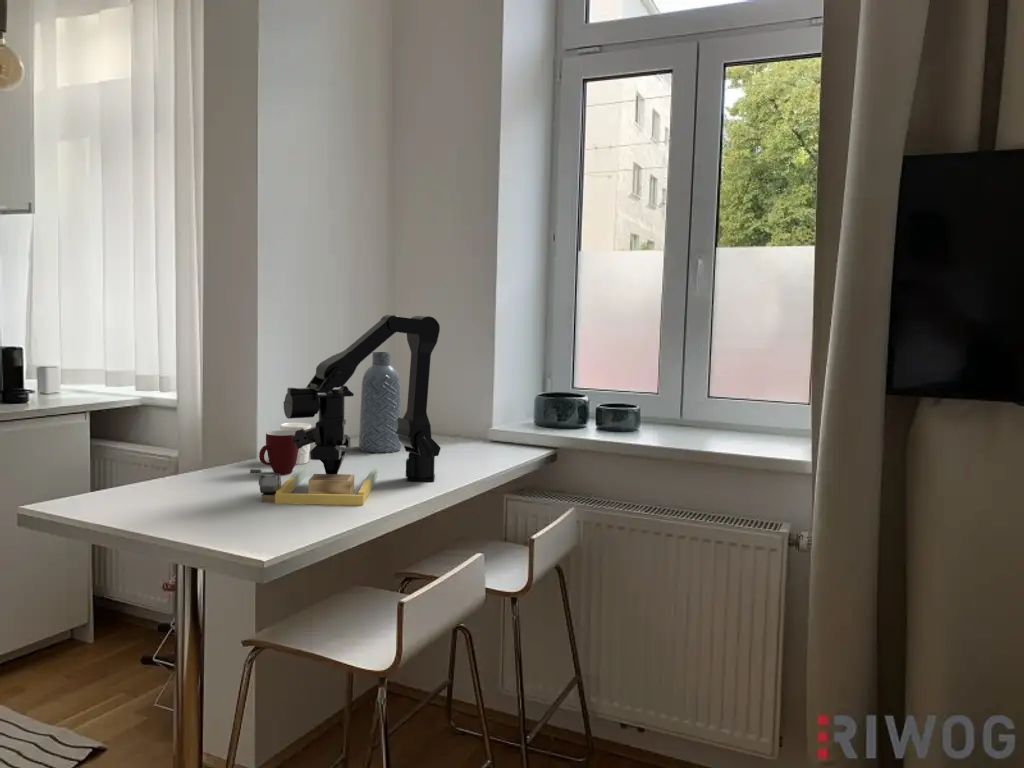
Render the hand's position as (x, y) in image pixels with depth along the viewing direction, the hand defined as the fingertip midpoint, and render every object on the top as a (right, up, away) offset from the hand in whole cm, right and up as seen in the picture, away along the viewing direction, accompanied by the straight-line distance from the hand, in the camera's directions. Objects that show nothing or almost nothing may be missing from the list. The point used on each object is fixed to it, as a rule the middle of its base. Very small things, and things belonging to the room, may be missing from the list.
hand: (330, 483), depth 190 cm
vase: (+3, +4, +51) cm, 51 cm away
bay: (0, -1, -1) cm, 2 cm away
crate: (+1, -2, -5) cm, 5 cm away
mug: (-16, +1, +14) cm, 21 cm away
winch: (-11, -2, -13) cm, 17 cm away
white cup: (-16, +2, +29) cm, 33 cm away
